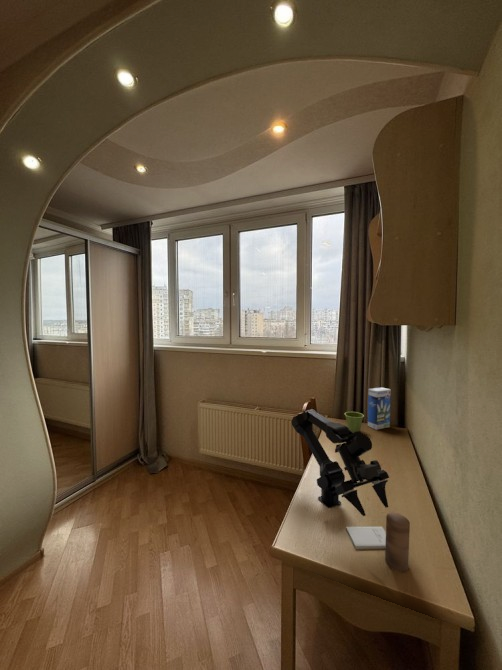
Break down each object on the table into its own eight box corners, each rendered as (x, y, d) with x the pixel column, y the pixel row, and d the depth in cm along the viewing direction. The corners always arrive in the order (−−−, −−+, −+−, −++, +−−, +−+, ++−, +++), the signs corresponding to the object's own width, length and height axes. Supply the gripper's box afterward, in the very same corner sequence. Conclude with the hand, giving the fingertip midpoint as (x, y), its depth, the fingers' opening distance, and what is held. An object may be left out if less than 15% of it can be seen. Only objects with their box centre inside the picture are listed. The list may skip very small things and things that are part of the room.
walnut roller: (381, 554, 82) (382, 512, 82) (400, 553, 83) (401, 512, 82) (392, 572, 76) (393, 527, 76) (413, 571, 77) (414, 527, 76)
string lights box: (376, 430, 178) (377, 391, 177) (367, 426, 185) (367, 388, 184) (390, 426, 184) (391, 389, 182) (380, 423, 190) (381, 386, 189)
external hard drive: (345, 530, 93) (381, 530, 93) (355, 550, 84) (394, 550, 85) (345, 526, 93) (381, 525, 93) (355, 545, 84) (394, 545, 85)
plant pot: (361, 428, 180) (362, 412, 179) (365, 436, 168) (365, 418, 168) (343, 427, 183) (343, 410, 182) (345, 434, 171) (345, 416, 171)
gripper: (340, 459, 86) (366, 515, 77) (385, 447, 93) (414, 498, 84) (325, 469, 94) (347, 521, 85) (367, 457, 101) (392, 505, 92)
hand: (376, 511), depth 86 cm, fingers open, 9 cm apart
